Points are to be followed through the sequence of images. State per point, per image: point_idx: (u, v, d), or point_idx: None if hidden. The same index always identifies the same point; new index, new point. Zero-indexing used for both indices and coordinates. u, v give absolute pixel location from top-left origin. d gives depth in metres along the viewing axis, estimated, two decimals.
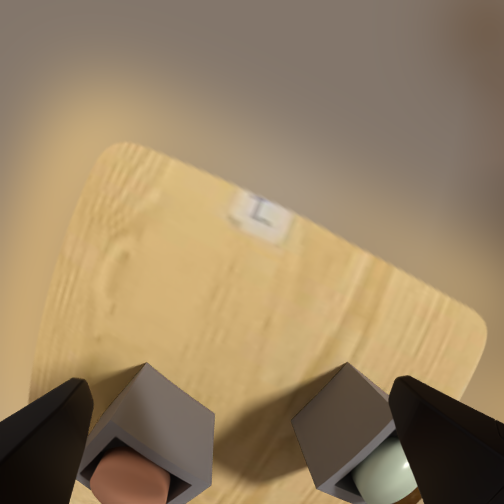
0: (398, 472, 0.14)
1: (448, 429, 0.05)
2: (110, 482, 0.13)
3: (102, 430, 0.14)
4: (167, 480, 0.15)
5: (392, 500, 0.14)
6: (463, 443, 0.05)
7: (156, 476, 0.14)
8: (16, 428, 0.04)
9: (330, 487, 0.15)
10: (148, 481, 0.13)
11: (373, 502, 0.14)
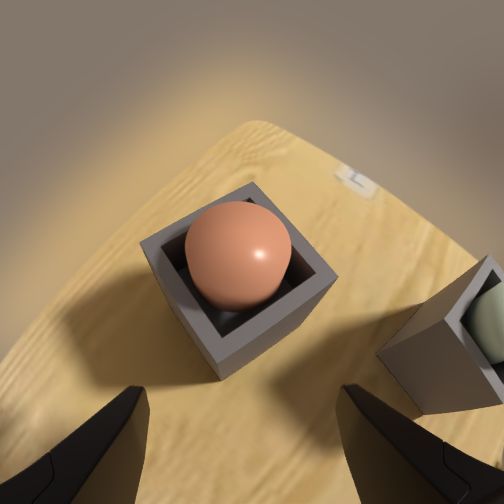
0: None
1: (386, 447, 0.05)
2: (228, 219, 0.14)
3: (237, 190, 0.17)
4: None
5: None
6: (400, 465, 0.05)
7: None
8: (83, 448, 0.04)
9: (456, 322, 0.14)
10: (281, 224, 0.14)
11: None
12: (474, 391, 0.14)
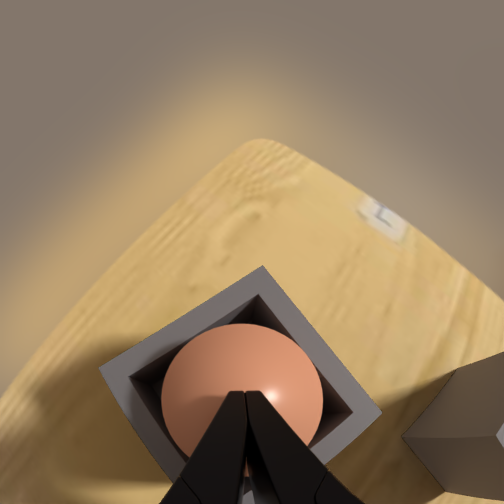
0: None
1: (261, 465, 0.05)
2: (226, 357, 0.09)
3: (239, 281, 0.11)
4: None
5: None
6: (269, 488, 0.04)
7: None
8: (218, 463, 0.05)
9: None
10: (308, 359, 0.09)
11: None
12: None
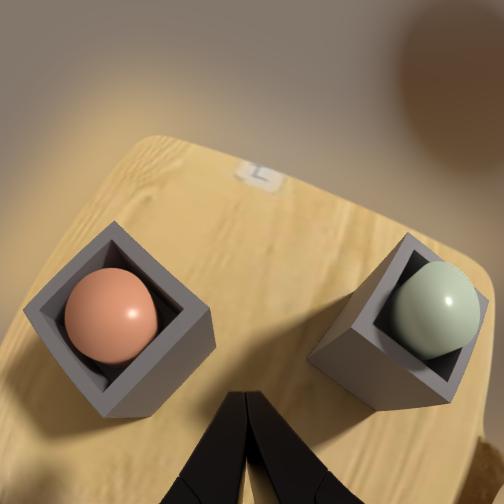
0: (441, 283, 0.13)
1: (261, 465, 0.05)
2: (95, 289, 0.14)
3: (99, 234, 0.15)
4: (159, 318, 0.15)
5: (459, 340, 0.12)
6: (269, 488, 0.04)
7: None
8: (218, 463, 0.05)
9: (369, 327, 0.14)
10: (142, 283, 0.14)
11: (434, 336, 0.12)
12: (414, 392, 0.14)
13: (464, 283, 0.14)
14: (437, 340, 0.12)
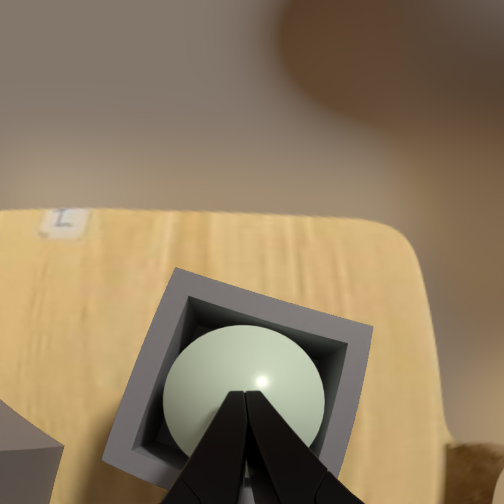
0: (224, 371, 0.08)
1: (261, 465, 0.05)
2: None
3: None
4: None
5: None
6: (269, 488, 0.04)
7: None
8: (218, 463, 0.05)
9: (128, 456, 0.07)
10: None
11: None
12: None
13: (276, 351, 0.09)
14: None
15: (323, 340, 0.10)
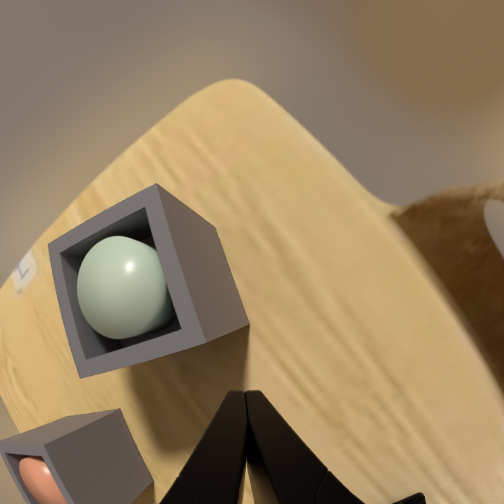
0: (97, 278, 0.13)
1: (261, 465, 0.05)
2: (29, 481, 0.13)
3: (1, 455, 0.13)
4: None
5: (147, 306, 0.13)
6: (269, 488, 0.04)
7: None
8: (218, 463, 0.05)
9: (86, 365, 0.12)
10: (28, 458, 0.13)
11: (126, 330, 0.13)
12: None
13: (112, 248, 0.13)
14: (130, 331, 0.13)
15: (135, 215, 0.13)
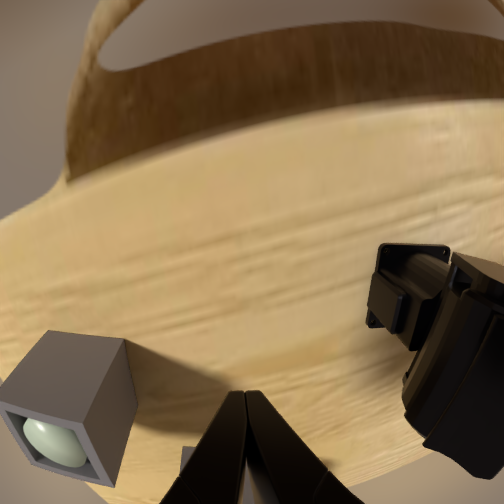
0: (49, 450, 0.14)
1: (261, 465, 0.05)
2: None
3: None
4: None
5: (62, 436, 0.14)
6: (269, 488, 0.04)
7: None
8: (218, 463, 0.05)
9: (104, 480, 0.15)
10: None
11: (79, 452, 0.14)
12: (98, 421, 0.15)
13: (30, 435, 0.14)
14: (79, 451, 0.14)
15: (11, 414, 0.13)
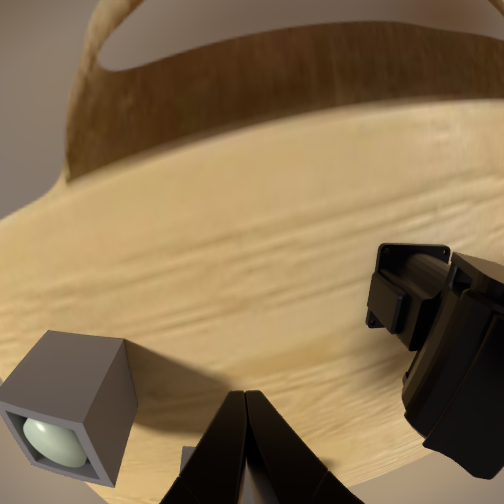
0: (49, 451, 0.14)
1: (261, 465, 0.05)
2: None
3: None
4: None
5: (62, 436, 0.14)
6: (269, 488, 0.04)
7: None
8: (218, 463, 0.05)
9: (104, 481, 0.15)
10: None
11: (79, 452, 0.14)
12: (98, 421, 0.15)
13: (30, 435, 0.14)
14: (79, 451, 0.14)
15: (11, 414, 0.13)
